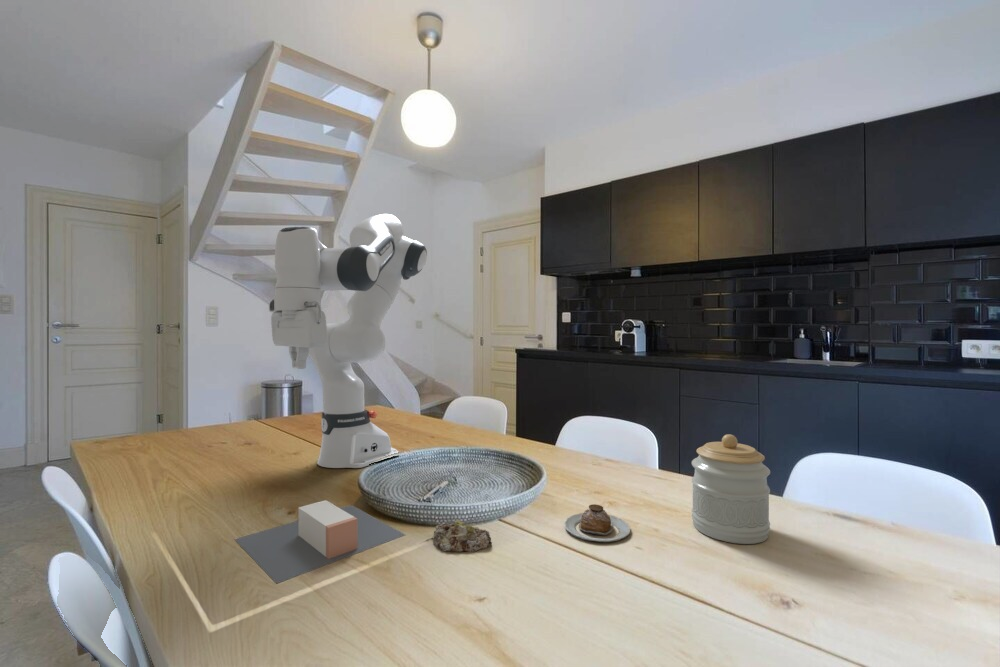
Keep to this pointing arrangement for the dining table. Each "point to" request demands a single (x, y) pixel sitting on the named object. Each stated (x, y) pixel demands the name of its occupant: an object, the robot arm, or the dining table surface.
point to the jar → (731, 492)
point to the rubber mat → (308, 546)
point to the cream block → (328, 528)
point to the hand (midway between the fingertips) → (299, 368)
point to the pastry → (596, 524)
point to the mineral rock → (460, 537)
